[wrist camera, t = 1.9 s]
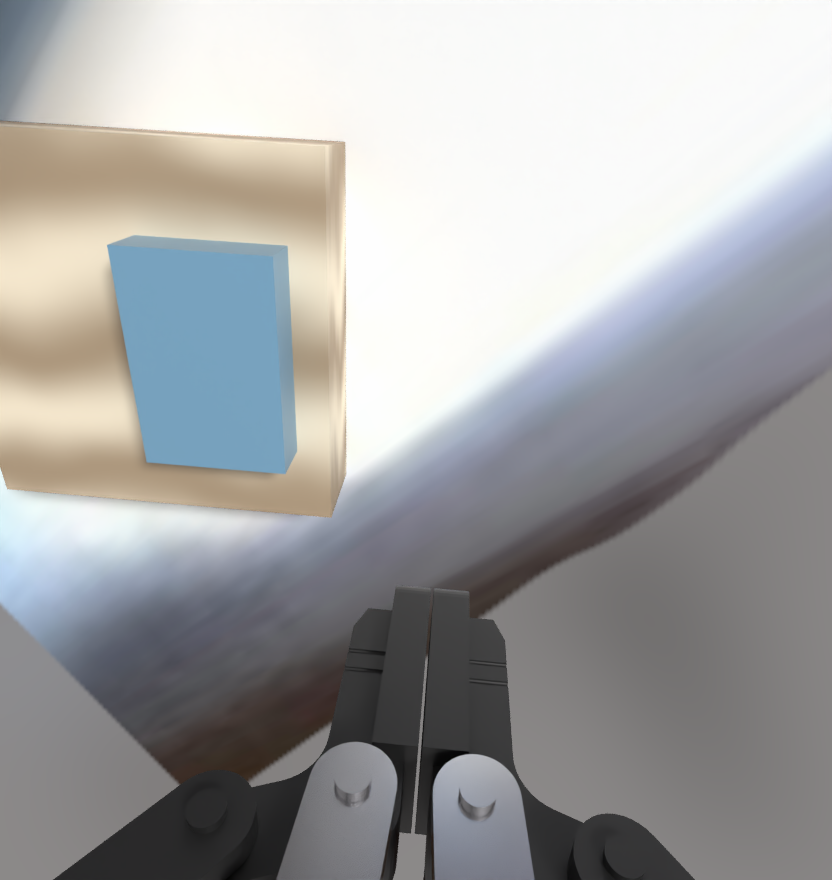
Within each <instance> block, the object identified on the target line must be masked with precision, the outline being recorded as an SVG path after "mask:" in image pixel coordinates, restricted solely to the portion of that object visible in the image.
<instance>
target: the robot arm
mask: <svg viewBox="0 0 832 880" xmlns="http://www.w3.org/2000/svg"><path fill="white" fill-rule="evenodd" d="M430 594H431V588H425V587H414V586H404V585H396V590H395V596H394V603H393V609H392V611H391V610H381V609H370V608H368V609H367V611H366V612H365V613H364V614H363V616H362V617H361V618H360V619H359V621H358V622H357V623H356V624H355V626H354V628H353V633H352V637H351V641H350V646H349V652H348V655H347V659H346V663H345V670H344V672H343V677H342V681H341V686H340V690H339V694H338V699H337V703H336V708H335V712H334V717H333V721H332V725H331V730H330V735H329V738H328V742H327V745H326V747H325V749H324V751H323V752H322V754H321V755H320V757H319V758H318V759H317V760H316V762H314V764H313V765H311V766H310V767H309V768H308V769H307V770H305V771H303V772H302V773H300V774H299V775H296V776H294V777H292V778H289V779H286V780H282V781H279V782H274V783H269V784H265V785H261V786H256V787H251V786H250V785H249V783H248V782H247V781H246V780H245V779H244V778H243V777H241V776H240V775H238V774H236V773H234V772H231V771H226V770H212V771H207V772H203V773H200V774H198V775H196V776H194V777H191V778H190V779H188V780H187V781H185V782H184V783H182V784H181V785H179V786H178V787H177V788H176V789H174V790H173V791H171V792H170V793H169V794H168V795H166V796H165V797H164V798H162V799H161V800H159V801H158V802H157V803H155V804H154V805H153V806H151V807H150V808H149V809H148V810H146V811H145V812H143V813H142V814H141V815H139V816H138V817H137V818H135V819H134V820H133V821H131V822H130V823H129V824H127V825H126V826H125V827H123V828H122V829H121V830H119V831H118V832H117V833H115V834H114V835H112V836H111V837H110V838H108V839H107V840H106V841H104V842H103V843H102V844H100V845H99V846H98V847H97V848H95V849H94V850H92V851H91V852H90V853H88V854H87V855H86V856H84V857H83V858H82V859H80V860H79V861H78V862H76V863H75V864H74V865H72V866H71V867H70V868H68V869H67V870H66V871H64V872H63V873H62V874H60V875H59V876H58V877H56V878H55V879H54V880H393V877H394V874H395V870H396V863H397V853H398V843H399V832H402V833H411V826H412V814H413V802H414V791H415V777H416V767H417V755H418V743H419V730H420V718H421V706H422V705H421V704H422V693H423V681H424V668H425V656H426V644H427V631H428V619H429V606H430ZM507 684H508V680H507V668H506V650H505V640H504V638H503V636H502V635H501V633H500V632H499V629H498V628H497V626H496V624H495V622H494V621H493V620H487V619H478V618H469V591H459V590H448V589H438V588H434V595H433V607H432V618H431V630H430V642H429V654H428V667H427V679H426V693H425V706H424V719H423V732H422V745H421V759H420V772H419V786H418V799H417V812H416V825H415V834H423V835H426V852H425V869H424V878H423V880H695V879H694V878H693V877H692V876H691V875H690V874H689V873H688V872H687V871H686V870H685V869H684V868H683V867H682V866H681V864H680V863H679V862H678V861H677V860H676V859H675V858H674V857H673V856H672V855H671V854H670V853H669V852H668V851H667V850H666V848H664V846H663V845H662V844H661V843H660V842H659V841H658V840H657V839H656V838H655V837H654V836H653V835H652V834H651V833H650V832H649V831H648V830H647V829H646V828H644V827H643V826H642V825H640V824H639V823H637V822H635V821H633V820H632V819H629V818H627V817H624V816H620V815H616V814H600V815H596V816H593V817H591V818H590V819H588V820H586V821H585V822H584V823H582V822H580V821H578V820H575V819H573V818H571V817H569V816H567V815H565V814H562V813H560V812H558V811H556V810H553V809H551V808H550V807H548V806H546V805H544V804H543V803H541V802H540V801H538V800H537V799H536V798H535V797H534V796H533V795H532V794H531V793H530V792H529V791H528V790H527V789H526V787H525V786H524V785H523V783H522V781H521V780H520V778H519V776H518V774H517V772H516V769H515V766H514V761H513V753H512V738H511V723H510V708H509V695H508V694H509V693H508V686H507Z"/></svg>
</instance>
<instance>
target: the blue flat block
mask: <svg viewBox="0 0 832 880" xmlns="http://www.w3.org/2000/svg"><path fill="white" fill-rule="evenodd" d="M107 248H108V254H109V259H110V265H111V270H112V275H113V281H114V286H115V292H116V297H117V303H118V308H119V314H120V319H121V325H122V330H123V335H124V341H125V346H126V352H127V357H128V363H129V368H130V374H131V379H132V385H133V390H134V395H135V401H136V406H137V412H138V417H139V423H140V428H141V434H142V439H143V445H144V450H145V455H146V461H147V462H149V463H160V464H172V465H184V466H196V467H207V468H219V469H231V470H242V471H254V472H266V473H278V474H286V472H287V470H288V468H289V466H290V464H291V462H292V460H293V459H294V457H295V455H296V453H297V435H296V414H295V392H294V371H293V350H292V328H291V307H290V285H289V264H288V246H285V245H270V244H256V243H241V242H227V241H212V240H198V239H183V238H169V237H154V236H140V235H133V236H130V237H127V238H125V239H122V240H119V241H116V242H113V243H111V244H108V245H107Z"/></svg>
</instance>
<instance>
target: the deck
mask: <svg viewBox="0 0 832 880" xmlns="http://www.w3.org/2000/svg"><path fill="white" fill-rule="evenodd" d="M133 235H140V236H154V237H169V238H183V239H198V240H212V241H227V242H241V243H256V244H270V245H285V246H288V264H289V285H290V307H291V328H292V350H293V371H294V392H295V414H296V435H297V453H296V455H295V457H294V459H293V460H292V462H291V464H290V466H289V468H288V470H287V472H286V474H278V473H266V472H254V471H242V470H231V469H219V468H207V467H196V466H184V465H172V464H160V463H149V462H147V461H146V455H145V450H144V445H143V439H142V434H141V428H140V423H139V417H138V412H137V406H136V401H135V395H134V390H133V385H132V379H131V374H130V368H129V363H128V357H127V352H126V346H125V341H124V335H123V330H122V325H121V319H120V314H119V308H118V303H117V297H116V292H115V286H114V281H113V275H112V270H111V265H110V259H109V254H108V248H107V245H108V244H111V243H113V242H116V241H119V240H122V239H125V238H127V237H130V236H133ZM0 468H1V471H2V474H3V477H4V480H5V483H6V487H7V489H13V490H25V491H36V492H47V493H59V494H70V495H81V496H93V497H104V498H115V499H127V500H138V501H149V502H161V503H172V504H183V505H195V506H206V507H217V508H229V509H240V510H251V511H263V512H274V513H285V514H297V515H308V516H319V517H332V514H333V511H334V508H335V505H336V502H337V499H338V496H339V493H340V490H341V488H342V485H343V482H344V479H345V476H346V273H345V142H338V141H321V140H305V139H289V138H272V137H256V136H240V135H224V134H207V133H191V132H175V131H159V130H142V129H126V128H110V127H93V126H77V125H61V124H45V123H28V122H12V121H0Z"/></svg>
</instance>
